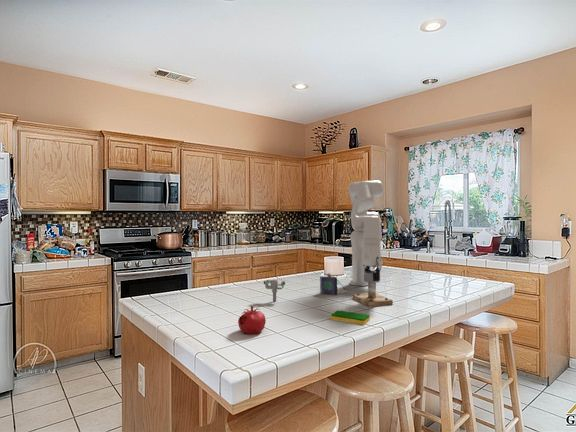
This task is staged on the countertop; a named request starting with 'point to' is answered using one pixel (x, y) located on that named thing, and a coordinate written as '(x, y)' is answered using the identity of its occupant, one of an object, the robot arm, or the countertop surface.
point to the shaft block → (372, 297)
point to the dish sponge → (350, 317)
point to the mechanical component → (273, 287)
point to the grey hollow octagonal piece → (369, 277)
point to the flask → (328, 285)
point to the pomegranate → (252, 321)
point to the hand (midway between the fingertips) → (371, 279)
